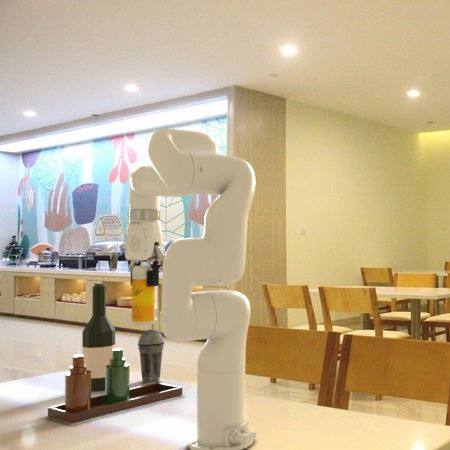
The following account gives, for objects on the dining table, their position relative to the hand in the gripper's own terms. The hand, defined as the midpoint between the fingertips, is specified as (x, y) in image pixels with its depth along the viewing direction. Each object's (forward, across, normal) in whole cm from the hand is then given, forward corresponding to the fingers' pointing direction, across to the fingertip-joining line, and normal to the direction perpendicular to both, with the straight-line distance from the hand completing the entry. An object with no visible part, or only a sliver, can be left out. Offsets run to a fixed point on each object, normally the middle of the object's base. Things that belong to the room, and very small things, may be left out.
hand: (144, 285), depth 159 cm
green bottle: (+30, -1, -7) cm, 31 cm away
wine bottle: (+30, -22, 0) cm, 37 cm away
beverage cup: (+30, -17, +14) cm, 37 cm away
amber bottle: (+30, -1, -17) cm, 34 cm away
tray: (+30, -1, -7) cm, 31 cm away
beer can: (+10, 0, 0) cm, 10 cm away
